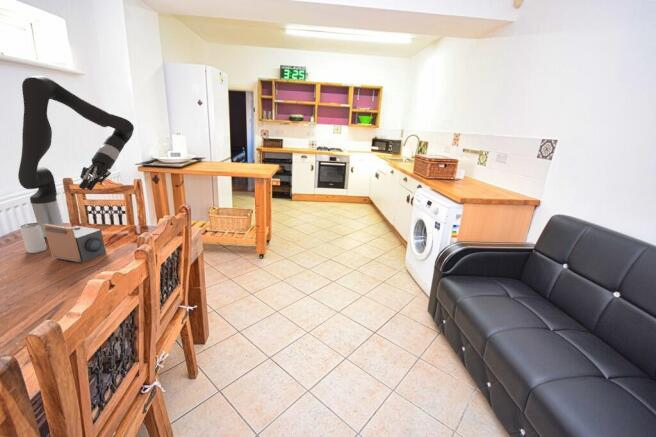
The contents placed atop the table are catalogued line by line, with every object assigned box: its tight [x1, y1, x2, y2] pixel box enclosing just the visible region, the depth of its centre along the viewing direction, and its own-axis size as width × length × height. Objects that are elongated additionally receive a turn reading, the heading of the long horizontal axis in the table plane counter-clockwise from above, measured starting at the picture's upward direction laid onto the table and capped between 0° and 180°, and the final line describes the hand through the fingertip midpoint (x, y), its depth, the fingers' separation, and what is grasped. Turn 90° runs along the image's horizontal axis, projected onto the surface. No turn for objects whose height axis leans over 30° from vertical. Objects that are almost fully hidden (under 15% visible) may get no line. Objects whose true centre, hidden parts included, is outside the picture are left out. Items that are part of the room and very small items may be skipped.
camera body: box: [70, 225, 107, 263], centre depth 127 cm, size 16×10×12 cm, turn 75°
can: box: [19, 222, 48, 254], centre depth 130 cm, size 6×6×12 cm
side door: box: [43, 224, 82, 263], centre depth 120 cm, size 14×2×15 cm, turn 75°
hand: (85, 188), depth 127 cm, fingers open, 3 cm apart
